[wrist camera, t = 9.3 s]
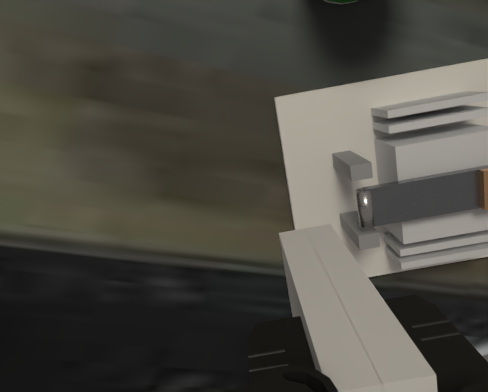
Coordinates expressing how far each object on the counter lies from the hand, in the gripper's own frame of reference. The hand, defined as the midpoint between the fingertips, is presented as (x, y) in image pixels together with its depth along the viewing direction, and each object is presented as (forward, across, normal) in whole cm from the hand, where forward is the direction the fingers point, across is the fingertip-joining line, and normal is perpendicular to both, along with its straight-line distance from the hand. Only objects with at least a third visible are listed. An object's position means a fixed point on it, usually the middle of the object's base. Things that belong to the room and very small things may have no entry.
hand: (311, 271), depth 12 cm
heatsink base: (+26, +14, -5) cm, 30 cm away
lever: (+20, +13, -5) cm, 25 cm away
